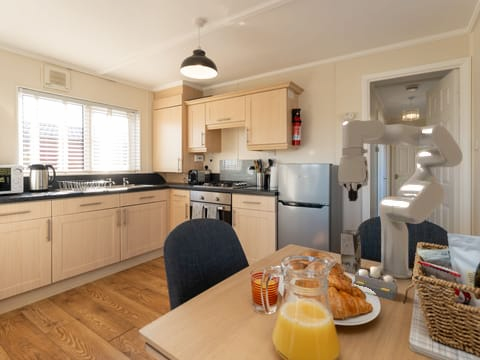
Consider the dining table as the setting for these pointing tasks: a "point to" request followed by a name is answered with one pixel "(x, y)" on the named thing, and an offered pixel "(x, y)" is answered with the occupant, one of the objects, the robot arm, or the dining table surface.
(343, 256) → the coffee box
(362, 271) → the end button
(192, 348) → the dining table surface
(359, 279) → the button board
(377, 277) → the middle button
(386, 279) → the end button
